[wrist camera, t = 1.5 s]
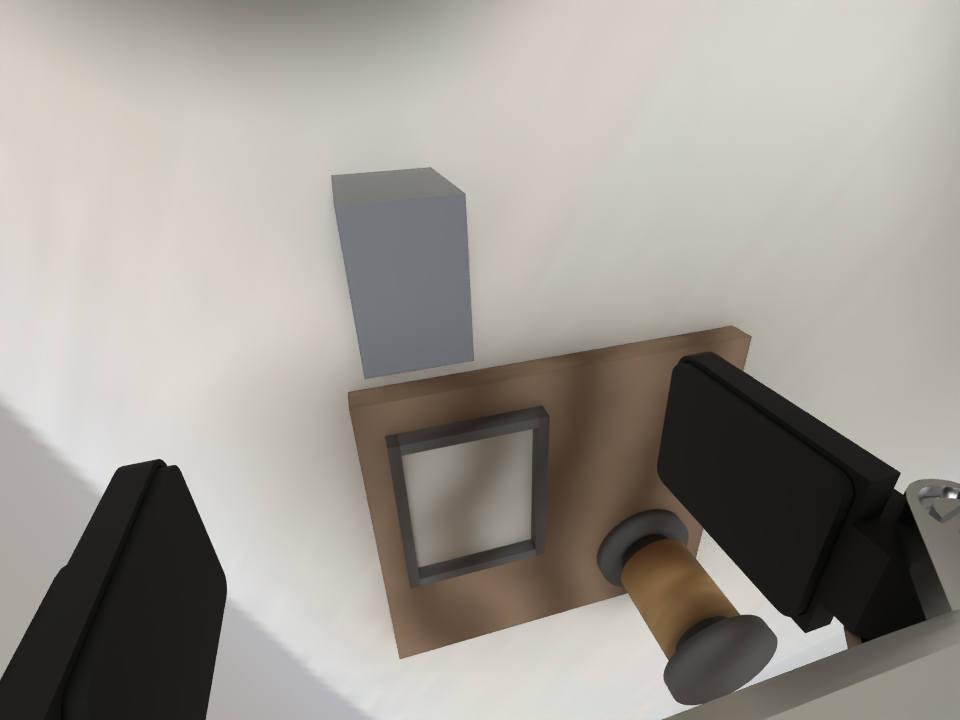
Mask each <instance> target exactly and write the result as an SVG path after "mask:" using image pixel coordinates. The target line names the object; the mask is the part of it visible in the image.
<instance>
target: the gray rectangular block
mask: <svg viewBox="0 0 960 720" xmlns="http://www.w3.org/2000/svg"><path fill="white" fill-rule="evenodd" d="M331 177H332V188H333V198H334V207H335V213H336V219H337V224H338V230H339V236H340V241H341V247H342V253H343V258H344V264H345V270H346V275H347V281H348V287H349V292H350V298H351V303H352V309H353V315H354V320H355V326H356V332H357V337H358V343H359V349H360V354H361V360H362V366H363V371H364V377H365V379H368V378H374V377H380V376H386V375H392V374H398V373H404V372H409V371H415V370H421V369H427V368H433V367H439V366H445V365H451V364H457V363H463V362H469V361H474V353H473V333H472V314H471V294H470V275H469V255H468V236H467V216H466V197H465V193H464V192H462V191H461V190H460V189H459V188H457V187H456V186H455V185H453V184H452V183H451V182H449V181H448V180H447V179H445V178H444V177H443V176H441V175H440V174H439V173H437V172H436V171H435V170H433V169H432V168H431V167H430V168H417V169H405V170H393V171H381V172H369V173H356V174H344V175H332V176H331Z"/></svg>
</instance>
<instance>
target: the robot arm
mask: <svg viewBox="0 0 960 720" xmlns="http://www.w3.org/2000/svg"><path fill="white" fill-rule="evenodd" d="M657 472H658V475H659V478H660V480H661V481H662V483H663V484H664V485H665V486H666V487H667V488H668V489H669V491H670V492H671V493H672V494H673V495H674V496H675V497H676V498H677V499H678V501H679V502H680V503H681V504H682V505H683V506H684V507H685V508H686V509H687V510H688V512H689V513H690V514H691V515H692V516H693V517H694V518H695V519H696V520H697V522H698V523H699V524H700V525H701V526H702V527H703V528H704V529H705V530H706V532H707V533H708V534H709V535H710V536H711V537H712V538H713V539H714V540H715V542H716V543H717V544H718V545H719V546H720V547H721V548H722V549H723V550H724V552H725V553H726V554H727V555H728V556H729V557H730V558H731V559H732V560H733V562H734V563H735V564H736V565H737V566H738V567H739V568H740V569H741V570H742V572H743V573H744V574H745V575H746V576H747V577H748V578H749V579H750V580H751V582H752V583H753V584H754V585H755V586H756V587H757V588H758V589H759V590H760V592H761V593H762V594H763V595H764V596H765V597H766V598H767V599H768V600H769V602H770V603H771V604H772V605H773V606H774V607H775V608H776V609H777V610H778V611H779V612H780V613H781V614H783V615H785V616H788V617H791V618H792V619H793V620H794V622H795V623H796V624H797V625H798V626H799V627H800V628H801V629H802V630H803V631H804V633H807V632H810V631H813V630H815V629H818V628H821V627H823V626H826V625H829V624H830V623H831V621H832V619H833V617H834V616H835V617H836V618H837V619H838V620H839V621H840V622H841V623H842V624H843V625H844V632H845V637H846V642H847V646H848V649H847V650H844V651H841V652H839V653H836V654H833V655H831V656H828V657H825V658H823V659H820V660H818V661H815V662H812V663H810V664H807V665H804V666H802V667H799V668H796V669H794V670H792V671H788V672H786V673H783V674H780V675H778V676H775V677H773V678H770V679H767V680H765V681H762V682H759V683H757V684H754V685H751V686H749V687H746V688H744V689H741V690H738V691H736V692H733V693H730V694H728V695H725V696H723V697H720V698H717V699H715V700H712V701H710V702H707V703H704V704H702V705H699V706H697V707H694V708H691V709H689V710H686V711H683V712H681V713H678V714H676V715H673V716H670V717H668V718H665V719H663V720H960V484H959V483H955V482H951V481H946V480H938V479H924V480H918V481H915V482H913V483H911V484H910V485H909V486H908V488H907V489H906V491H905V493H904V495H903V494H901V493H900V492H898V491H897V490H895V489H894V487H895V484H896V482H897V480H898V478H899V476H900V474H901V473H900V472H899V471H897V470H896V469H894V468H892V467H891V466H889V465H888V464H886V463H885V462H883V461H882V460H880V459H878V458H877V457H875V456H874V455H872V454H871V453H869V452H868V451H866V450H864V449H863V448H861V447H860V446H858V445H857V444H855V443H854V442H852V441H850V440H849V439H847V438H846V437H844V436H843V435H841V434H840V433H838V432H837V431H835V430H833V429H832V428H830V427H829V426H827V425H826V424H824V423H823V422H821V421H819V420H818V419H816V418H815V417H813V416H812V415H810V414H809V413H807V412H805V411H804V410H802V409H801V408H799V407H798V406H796V405H795V404H793V403H792V402H790V401H788V400H787V399H785V398H784V397H782V396H781V395H779V394H778V393H776V392H774V391H773V390H771V389H770V388H768V387H767V386H765V385H764V384H762V383H760V382H759V381H757V380H756V379H754V378H753V377H751V376H750V375H748V374H746V373H745V372H743V371H742V370H740V369H739V368H737V367H736V366H734V365H733V364H731V363H729V362H728V361H726V360H725V359H723V358H722V357H720V356H719V355H717V354H715V353H713V352H702V353H697V354H692V355H687V356H684V357H682V358H681V359H680V360H679V362H678V364H677V365H676V366H675V367H674V368H673V371H672V375H671V381H670V387H669V394H668V400H667V406H666V412H665V418H664V424H663V430H662V436H661V442H660V448H659V455H658V461H657ZM226 596H227V584H226V577H225V574H224V571H223V569H222V567H221V564H220V562H219V560H218V557H217V555H216V553H215V550H214V548H213V545H212V543H211V541H210V538H209V536H208V534H207V531H206V529H205V527H204V524H203V522H202V520H201V517H200V515H199V513H198V510H197V508H196V506H195V503H194V501H193V498H192V496H191V494H190V491H189V489H188V487H187V484H186V482H185V480H184V477H183V475H182V473H181V471H180V469H179V468H178V466H176V465H172V466H167V465H166V463H165V462H164V461H163V460H160V459H157V460H152V461H147V462H142V463H137V464H131V465H126V466H122V467H120V468H118V469H117V470H116V472H115V473H114V475H113V477H112V479H111V481H110V483H109V485H108V487H107V489H106V491H105V493H104V494H103V496H102V498H101V500H100V502H99V504H98V506H97V508H96V510H95V512H94V514H93V516H92V518H91V520H90V521H89V523H88V525H87V527H86V529H85V531H84V533H83V535H82V537H81V539H80V541H79V543H78V545H77V547H76V548H75V550H74V552H73V554H72V556H71V558H70V560H69V562H68V564H67V565H66V566H64V567H63V568H62V569H61V570H60V571H59V572H58V574H57V576H56V577H55V578H54V580H53V582H52V584H51V586H50V588H49V589H48V591H47V593H46V595H45V597H44V599H43V601H42V603H41V605H40V606H39V608H38V610H37V612H36V614H35V616H34V618H33V619H32V622H31V623H30V625H29V627H28V629H27V631H26V633H25V635H24V636H23V638H22V640H21V642H20V644H19V646H18V648H17V650H16V652H15V653H14V655H13V657H12V659H11V661H10V663H9V665H8V667H7V669H6V670H5V672H4V674H3V676H2V678H1V680H0V720H206V714H207V708H208V702H209V696H210V691H211V685H212V679H213V673H214V667H215V661H216V655H217V649H218V643H219V638H220V632H221V626H222V620H223V614H224V607H225V602H226Z"/></svg>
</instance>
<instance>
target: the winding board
mask: <svg viewBox="0 0 960 720" xmlns="http://www.w3.org/2000/svg"><path fill="white" fill-rule="evenodd" d="M750 341H751V336H750V335H748V334H746V333H744V332H743V331H741V330H739V329H738V328H736V327H734V326H729V327H723V328H718V329H712V330H706V331H700V332H695V333H689V334H683V335H677V336H671V337H666V338H660V339H654V340H648V341H643V342H637V343H631V344H625V345H619V346H614V347H608V348H602V349H596V350H591V351H585V352H579V353H573V354H568V355H562V356H556V357H550V358H544V359H539V360H533V361H527V362H521V363H516V364H510V365H504V366H498V367H492V368H487V369H481V370H475V371H469V372H464V373H458V374H452V375H446V376H441V377H435V378H429V379H423V380H417V381H412V382H406V383H400V384H394V385H389V386H383V387H377V388H371V389H365V390H360V391H354V392H348V400H349V410H350V415H351V420H352V425H353V430H354V435H355V440H356V445H357V450H358V455H359V460H360V465H361V470H362V475H363V480H364V485H365V490H366V494H367V499H368V504H369V509H370V514H371V519H372V524H373V529H374V534H375V539H376V544H377V549H378V554H379V559H380V564H381V569H382V574H383V579H384V584H385V589H386V594H387V599H388V604H389V608H390V613H391V618H392V623H393V628H394V633H395V638H396V643H397V648H398V653H399V658H400V659H403V658H406V657H410V656H413V655H416V654H420V653H423V652H427V651H430V650H434V649H437V648H440V647H444V646H447V645H451V644H454V643H458V642H461V641H465V640H468V639H471V638H475V637H478V636H482V635H485V634H489V633H492V632H495V631H499V630H502V629H506V628H509V627H513V626H516V625H519V624H523V623H526V622H530V621H533V620H537V619H540V618H544V617H547V616H550V615H554V614H557V613H561V612H564V611H568V610H571V609H574V608H578V607H581V606H585V605H588V604H592V603H595V602H599V601H602V600H605V599H609V598H612V597H616V596H619V595H623V594H626V593H628V594H629V596H630V597H631V599H632V601H633V602H634V604H635V606H636V607H637V609H638V611H639V612H640V614H641V616H642V617H643V619H644V621H645V622H646V624H647V626H648V627H649V629H650V631H651V632H652V634H653V635H654V637H655V639H656V640H657V642H658V644H659V645H660V647H661V649H662V650H663V652H664V654H665V655H666V657H667V659H668V660H669V661H668V663H667V665H666V667H665V670H664V681H665V684H666V685H667V687H668V689H669V691H670V692H671V694H672V696H673V698H674V699H675V700H676V701H677V702H678V703H681V704H684V705H698V704H704V703H707V702H710V701H712V700H715V699H717V698H720V697H723V696H725V695H728V694H730V693H732V692H734V691H735V690H737V689H739V688H740V687H742V686H743V685H745V684H746V683H748V682H749V681H750V680H751V679H753V678H754V677H755V676H756V675H757V674H758V673H760V672H761V671H762V670H763V668H764V667H765V666H766V665H767V664H768V663H769V661H770V660H771V658H772V657H773V655H774V653H775V651H776V648H777V637H776V635H775V634H774V633H773V631H772V630H771V629H770V628H769V627H768V625H767V624H766V623H765V622H764V621H763V619H761V618H760V617H758V616H754V615H740V614H739V613H738V611H737V610H736V609H735V608H734V606H733V605H732V604H731V603H730V601H729V600H728V599H727V597H726V596H725V595H724V594H723V592H722V591H721V590H720V589H719V587H718V586H717V585H716V584H715V582H714V581H713V580H712V578H711V577H710V576H709V575H708V573H707V572H706V571H705V570H704V568H703V567H702V566H701V565H700V563H699V562H698V561H697V559H696V555H697V551H698V547H699V543H700V539H701V535H702V531H703V527H702V526H701V525H700V524H699V523H698V522H697V520H696V519H695V518H694V517H693V516H692V515H691V514H690V513H689V512H688V510H687V509H686V508H685V507H684V506H683V505H682V504H681V503H680V502H679V501H678V499H677V498H676V497H675V496H674V495H673V494H672V493H671V492H670V491H669V489H668V488H667V487H666V486H665V485H664V484H663V483H662V481H661V480H660V478H659V475H658V472H657V461H658V455H659V448H660V442H661V436H662V430H663V424H664V418H665V412H666V406H667V400H668V394H669V387H670V381H671V375H672V371H673V368H674V367H675V366H676V365H677V364H678V362H679V360H680V359H681V358H682V357H684V356H687V355H692V354H697V353H702V352H713V353H715V354H717V355H719V356H720V357H722V358H723V359H725V360H726V361H728V362H729V363H731V364H733V365H734V366H736V367H737V368H739V369H740V370H742V371H743V369H744V365H745V361H746V357H747V353H748V349H749V345H750Z"/></svg>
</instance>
